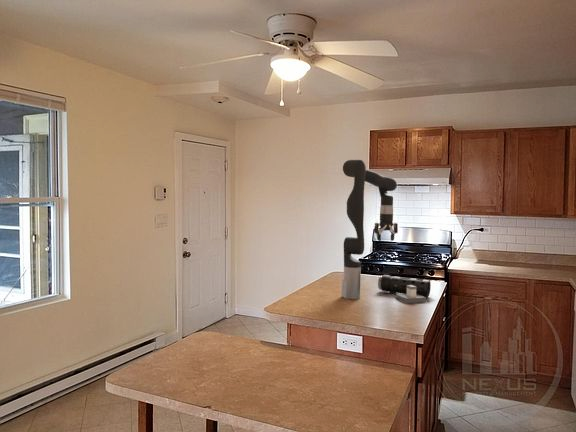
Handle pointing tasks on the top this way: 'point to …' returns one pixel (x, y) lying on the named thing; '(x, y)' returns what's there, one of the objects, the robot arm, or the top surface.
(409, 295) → the plug
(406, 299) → the outlet block
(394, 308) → the top surface
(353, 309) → the top surface
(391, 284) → the muzzle brake
